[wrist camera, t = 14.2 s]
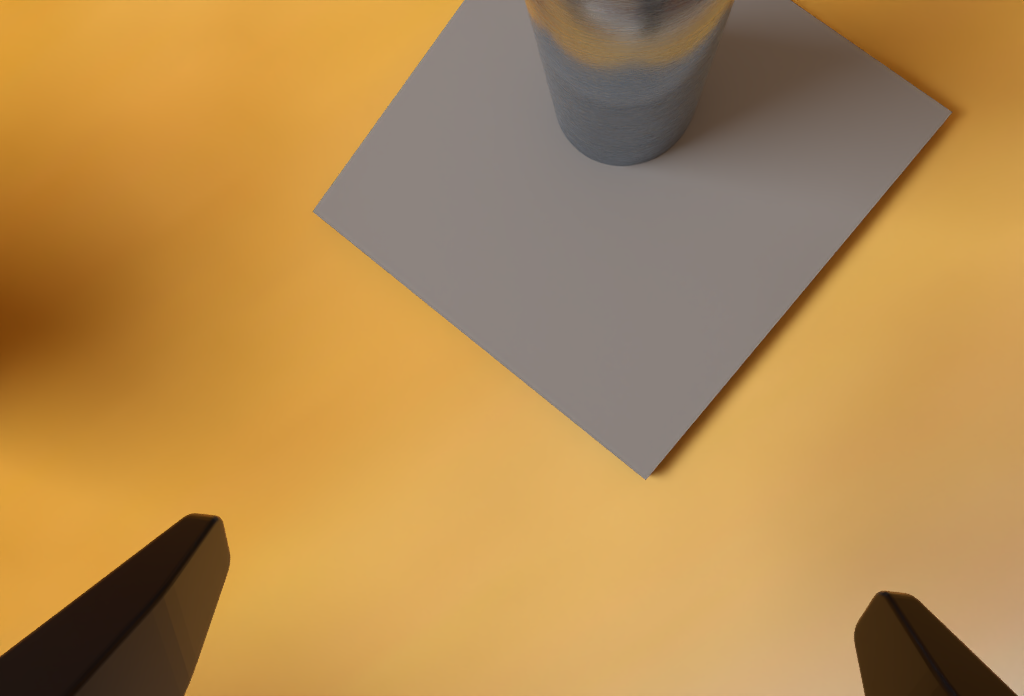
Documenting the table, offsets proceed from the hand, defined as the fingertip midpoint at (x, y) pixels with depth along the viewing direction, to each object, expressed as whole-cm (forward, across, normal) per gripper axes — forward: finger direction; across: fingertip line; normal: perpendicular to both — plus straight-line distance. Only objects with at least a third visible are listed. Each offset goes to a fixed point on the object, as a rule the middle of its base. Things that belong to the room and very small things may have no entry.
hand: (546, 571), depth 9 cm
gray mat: (+15, -2, -1) cm, 15 cm away
